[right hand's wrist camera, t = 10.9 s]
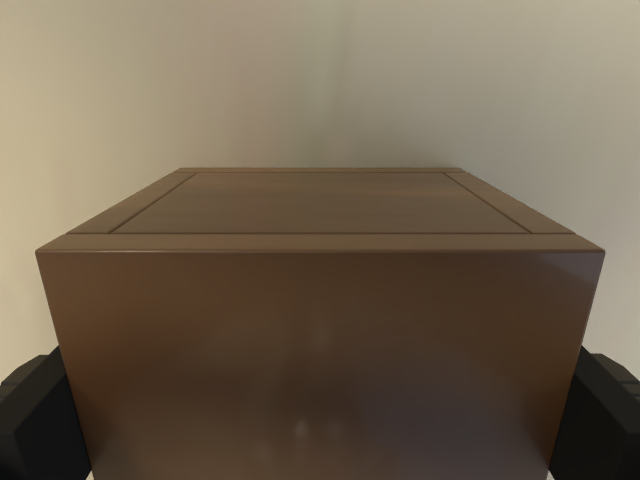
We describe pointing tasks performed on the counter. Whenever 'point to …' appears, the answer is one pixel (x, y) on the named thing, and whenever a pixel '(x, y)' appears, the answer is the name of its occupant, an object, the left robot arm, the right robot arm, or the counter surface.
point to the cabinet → (320, 327)
